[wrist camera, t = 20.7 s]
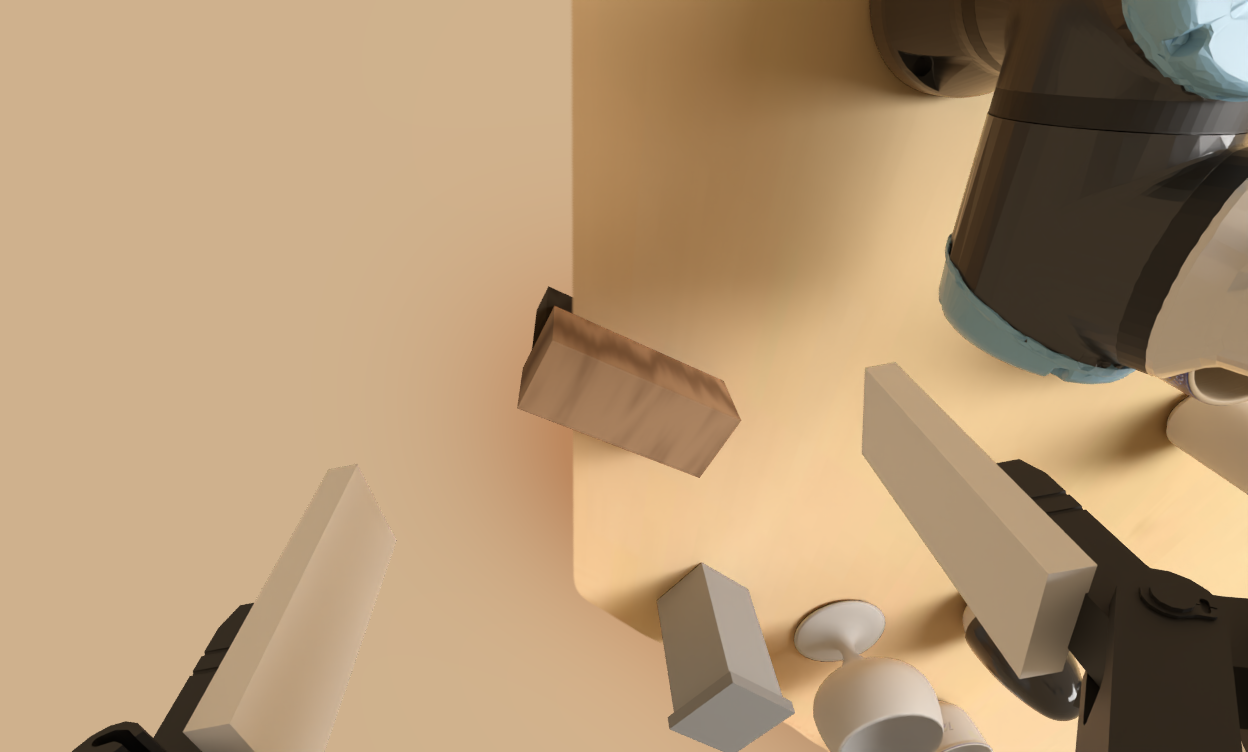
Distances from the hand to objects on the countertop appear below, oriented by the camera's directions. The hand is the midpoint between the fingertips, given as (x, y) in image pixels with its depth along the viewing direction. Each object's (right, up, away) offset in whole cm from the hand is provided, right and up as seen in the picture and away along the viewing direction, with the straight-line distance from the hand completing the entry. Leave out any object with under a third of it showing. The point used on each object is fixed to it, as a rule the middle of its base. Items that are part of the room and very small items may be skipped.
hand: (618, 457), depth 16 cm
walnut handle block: (+8, -1, +45) cm, 46 cm away
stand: (+10, -25, +58) cm, 63 cm away
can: (+62, -2, +49) cm, 80 cm away
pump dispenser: (+48, -27, +63) cm, 84 cm away
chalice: (+28, -31, +63) cm, 76 cm away
